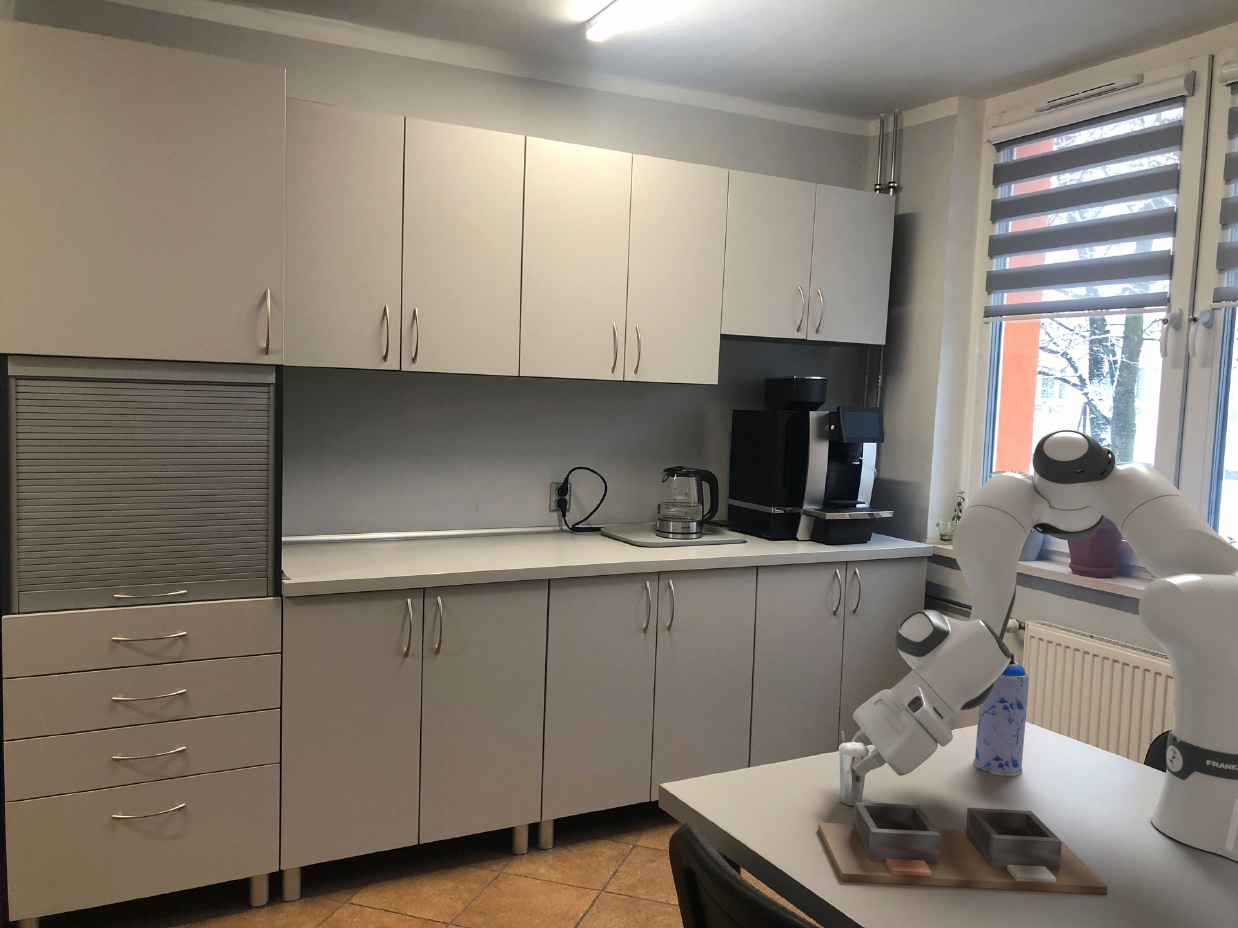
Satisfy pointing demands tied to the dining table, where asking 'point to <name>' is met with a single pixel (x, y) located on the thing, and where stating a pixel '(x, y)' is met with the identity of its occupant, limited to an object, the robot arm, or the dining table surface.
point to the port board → (955, 851)
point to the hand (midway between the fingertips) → (851, 764)
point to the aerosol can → (1003, 723)
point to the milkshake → (851, 771)
